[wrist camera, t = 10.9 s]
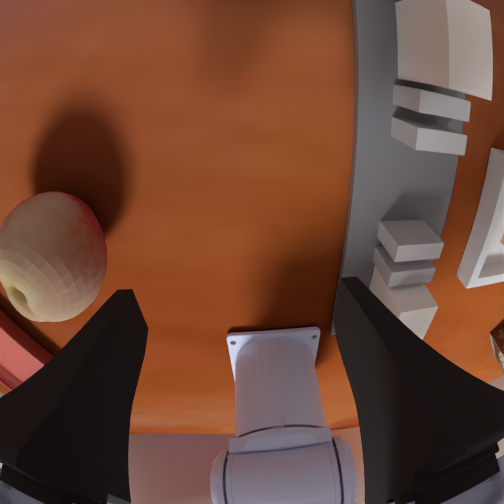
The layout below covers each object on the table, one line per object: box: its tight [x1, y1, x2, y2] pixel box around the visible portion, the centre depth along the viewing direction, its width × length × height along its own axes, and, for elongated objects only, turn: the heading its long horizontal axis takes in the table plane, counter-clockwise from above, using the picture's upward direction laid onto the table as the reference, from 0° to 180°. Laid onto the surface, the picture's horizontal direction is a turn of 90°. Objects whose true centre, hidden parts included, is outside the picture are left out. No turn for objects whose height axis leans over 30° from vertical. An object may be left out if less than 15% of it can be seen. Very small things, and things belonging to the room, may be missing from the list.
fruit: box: [0, 191, 107, 322], centre depth 15 cm, size 8×8×8 cm
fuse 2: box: [395, 0, 493, 100], centre depth 10 cm, size 5×3×5 cm, turn 3°
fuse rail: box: [330, 0, 471, 335], centre depth 16 cm, size 28×8×4 cm, turn 3°
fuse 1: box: [369, 266, 438, 339], centre depth 20 cm, size 5×3×5 cm, turn 3°
